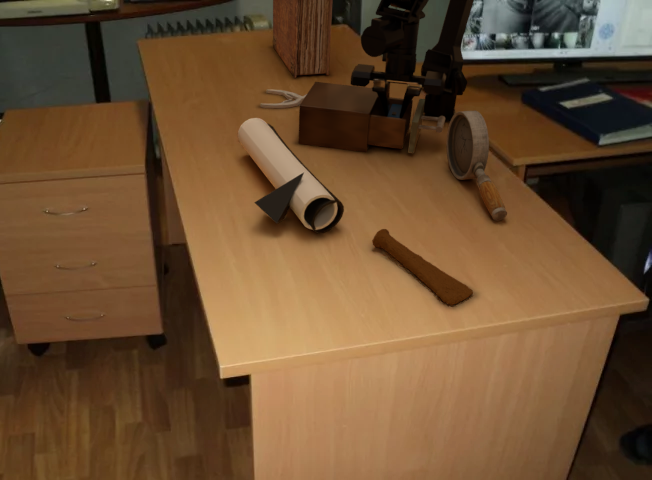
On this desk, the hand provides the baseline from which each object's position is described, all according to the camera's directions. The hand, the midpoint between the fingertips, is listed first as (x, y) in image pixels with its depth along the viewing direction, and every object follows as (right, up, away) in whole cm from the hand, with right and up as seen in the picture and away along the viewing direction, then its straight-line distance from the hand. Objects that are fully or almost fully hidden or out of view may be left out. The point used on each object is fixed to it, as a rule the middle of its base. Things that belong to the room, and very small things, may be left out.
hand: (394, 118), depth 154 cm
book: (-19, +25, +44) cm, 54 cm away
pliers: (-20, +8, +21) cm, 30 cm away
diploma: (-26, -18, -16) cm, 35 cm away
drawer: (+1, -4, +2) cm, 4 cm away
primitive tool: (-2, -33, -37) cm, 49 cm away
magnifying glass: (+13, -17, -14) cm, 25 cm away
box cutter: (0, -1, +1) cm, 1 cm away
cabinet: (-11, -2, +5) cm, 13 cm away
